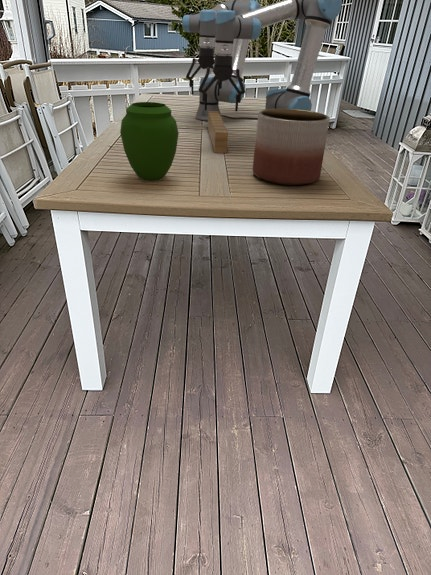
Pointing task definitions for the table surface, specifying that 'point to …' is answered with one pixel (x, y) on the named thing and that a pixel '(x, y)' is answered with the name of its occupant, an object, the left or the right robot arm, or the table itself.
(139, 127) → the vase
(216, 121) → the beam
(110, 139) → the table surface
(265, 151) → the planter
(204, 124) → the table surface
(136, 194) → the table surface
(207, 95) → the left robot arm
